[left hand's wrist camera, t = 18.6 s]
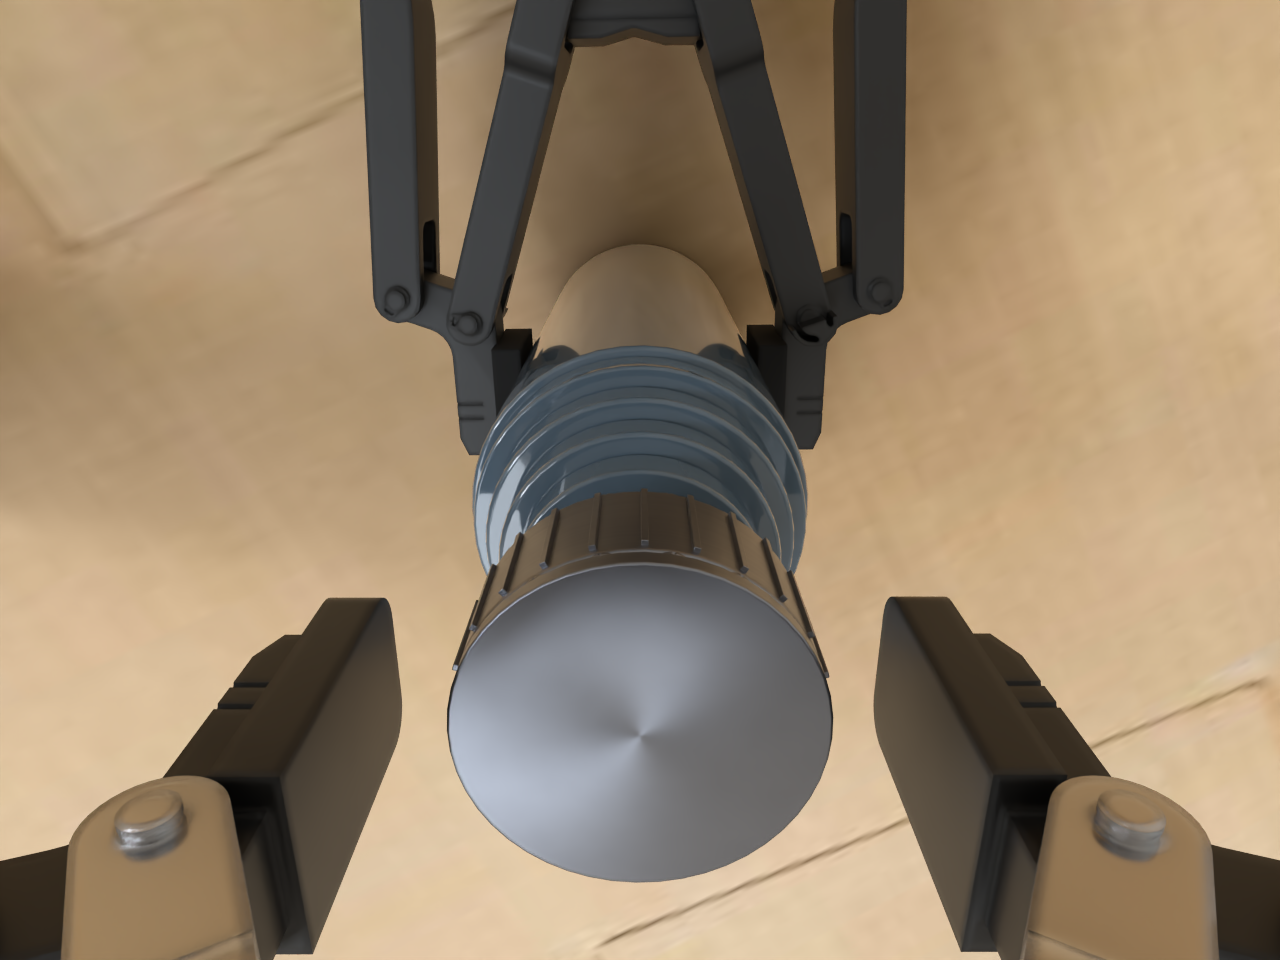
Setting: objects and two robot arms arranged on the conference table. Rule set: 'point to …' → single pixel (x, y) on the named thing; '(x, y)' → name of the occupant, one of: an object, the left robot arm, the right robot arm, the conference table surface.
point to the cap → (639, 691)
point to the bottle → (640, 409)
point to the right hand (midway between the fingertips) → (642, 548)
